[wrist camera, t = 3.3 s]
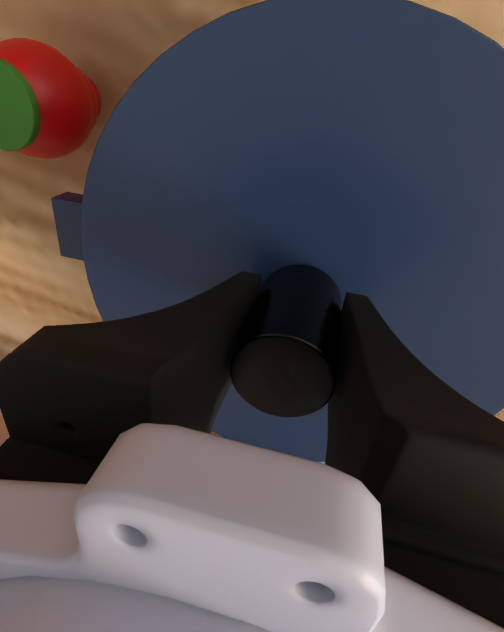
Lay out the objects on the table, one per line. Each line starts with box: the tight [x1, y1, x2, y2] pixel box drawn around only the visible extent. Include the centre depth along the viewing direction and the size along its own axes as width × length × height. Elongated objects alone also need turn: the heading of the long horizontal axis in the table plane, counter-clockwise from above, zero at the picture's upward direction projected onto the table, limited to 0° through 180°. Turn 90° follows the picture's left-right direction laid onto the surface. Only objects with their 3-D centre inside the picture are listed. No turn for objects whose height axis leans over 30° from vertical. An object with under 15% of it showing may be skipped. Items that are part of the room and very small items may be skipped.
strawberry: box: [0, 38, 101, 159], centre depth 16 cm, size 4×4×5 cm
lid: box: [81, 0, 504, 462], centre depth 11 cm, size 16×16×5 cm
